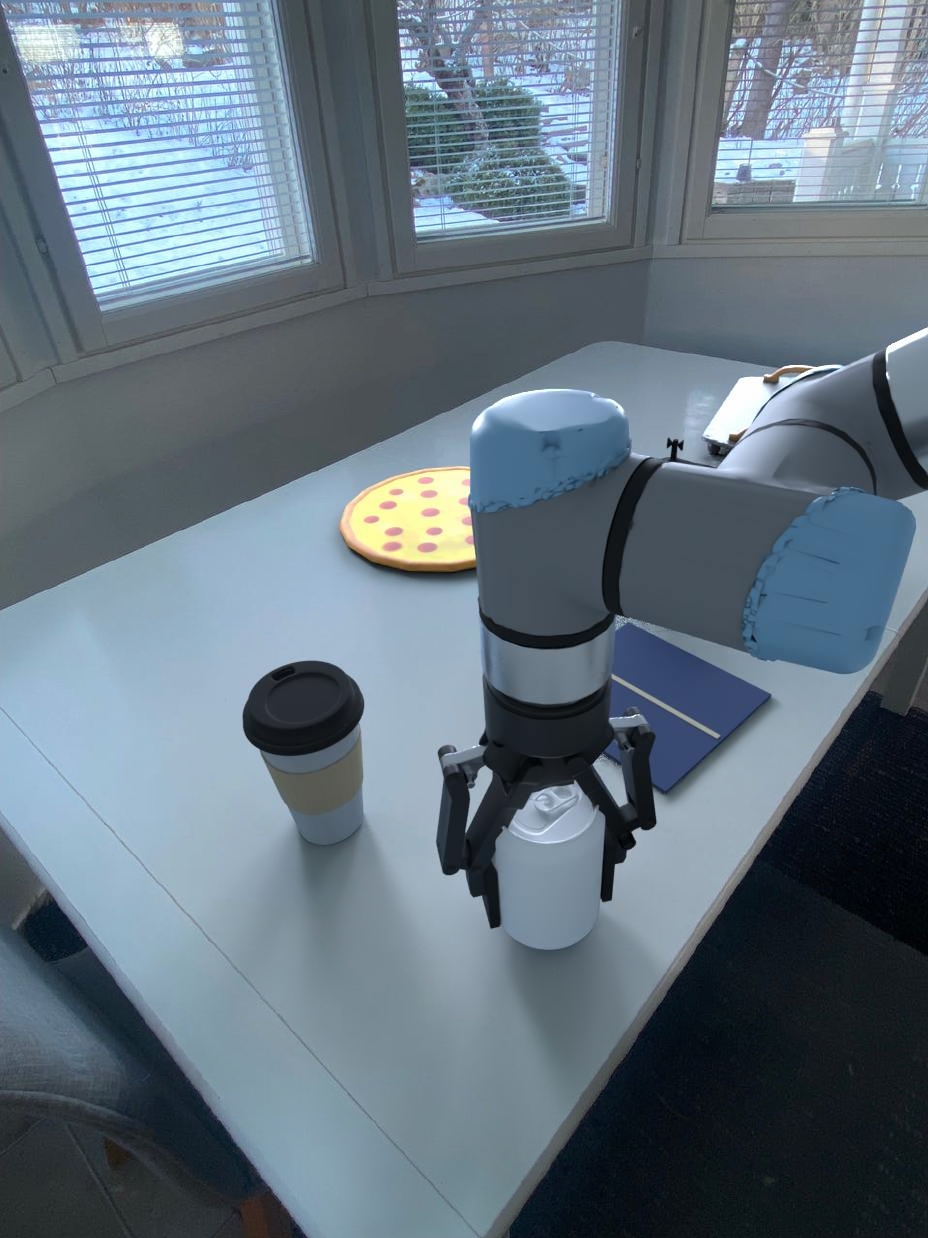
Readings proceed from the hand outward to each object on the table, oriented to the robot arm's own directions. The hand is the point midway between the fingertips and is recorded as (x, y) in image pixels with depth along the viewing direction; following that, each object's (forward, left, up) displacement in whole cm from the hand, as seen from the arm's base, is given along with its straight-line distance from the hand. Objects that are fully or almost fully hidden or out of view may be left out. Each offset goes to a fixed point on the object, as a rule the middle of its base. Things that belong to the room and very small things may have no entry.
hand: (546, 898), depth 55 cm
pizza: (+54, -37, -2) cm, 66 cm away
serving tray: (+35, -100, -2) cm, 106 cm away
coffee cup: (+19, +7, -2) cm, 21 cm away
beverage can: (0, 0, -1) cm, 1 cm away
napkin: (+9, -25, -2) cm, 27 cm away
